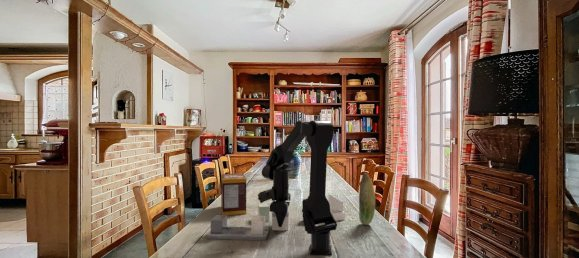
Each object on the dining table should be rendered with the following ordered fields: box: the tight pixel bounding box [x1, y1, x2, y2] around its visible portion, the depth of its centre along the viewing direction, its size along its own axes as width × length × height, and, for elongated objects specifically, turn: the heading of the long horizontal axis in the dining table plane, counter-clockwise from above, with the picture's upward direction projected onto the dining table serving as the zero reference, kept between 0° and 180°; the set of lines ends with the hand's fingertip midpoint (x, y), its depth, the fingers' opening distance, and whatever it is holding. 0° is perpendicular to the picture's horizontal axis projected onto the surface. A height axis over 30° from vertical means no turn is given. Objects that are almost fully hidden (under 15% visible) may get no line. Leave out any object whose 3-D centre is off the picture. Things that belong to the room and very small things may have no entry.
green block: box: [257, 202, 270, 222], centre depth 119 cm, size 5×4×6 cm
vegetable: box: [358, 172, 376, 226], centre depth 113 cm, size 6×6×20 cm
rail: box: [206, 214, 270, 241], centre depth 102 cm, size 8×20×6 cm, turn 86°
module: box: [271, 208, 290, 232], centre depth 109 cm, size 4×6×7 cm
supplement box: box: [220, 173, 247, 216], centre depth 133 cm, size 10×15×16 cm
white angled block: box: [328, 194, 346, 222], centre depth 120 cm, size 4×10×9 cm
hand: (280, 224), depth 109 cm, fingers open, 5 cm apart
